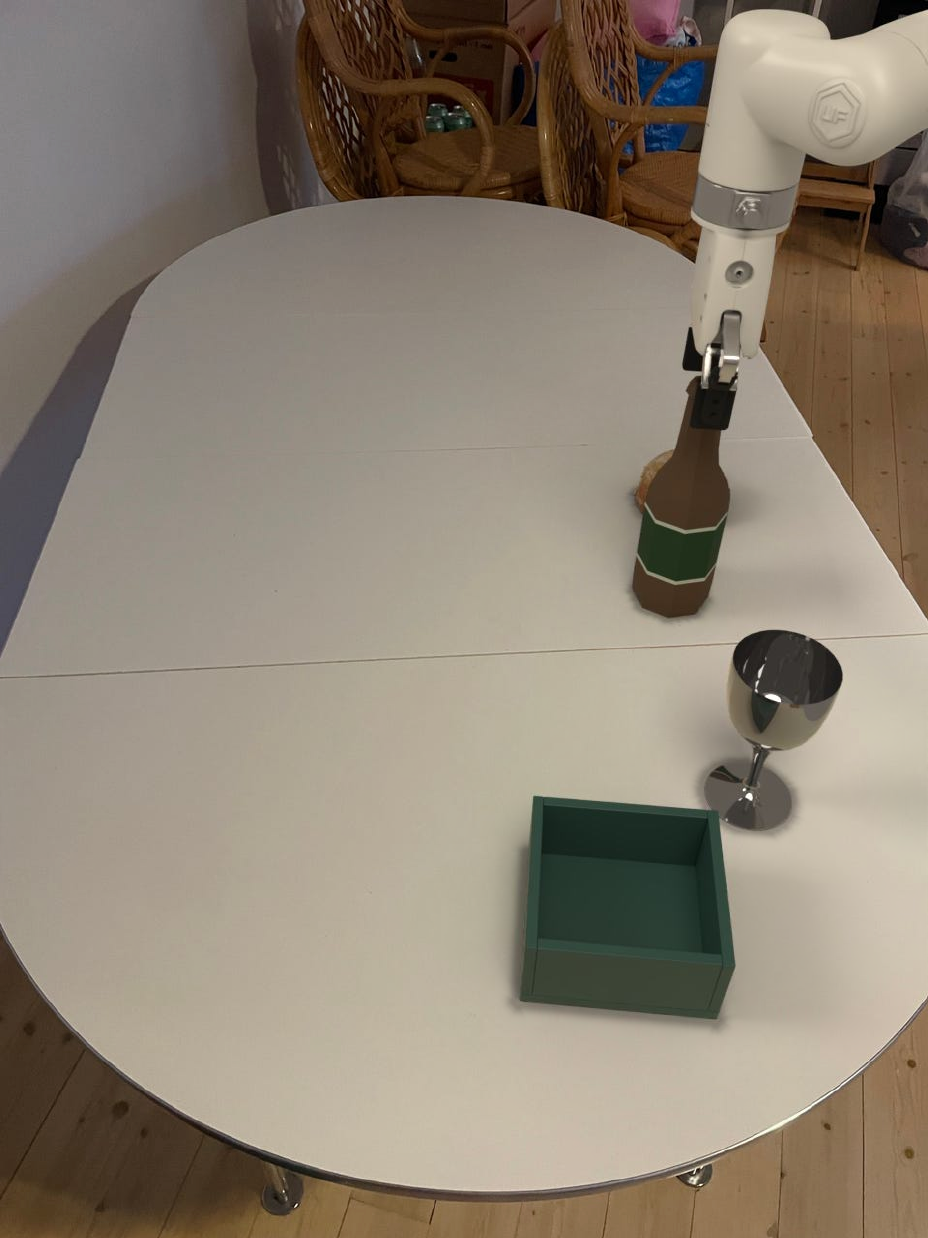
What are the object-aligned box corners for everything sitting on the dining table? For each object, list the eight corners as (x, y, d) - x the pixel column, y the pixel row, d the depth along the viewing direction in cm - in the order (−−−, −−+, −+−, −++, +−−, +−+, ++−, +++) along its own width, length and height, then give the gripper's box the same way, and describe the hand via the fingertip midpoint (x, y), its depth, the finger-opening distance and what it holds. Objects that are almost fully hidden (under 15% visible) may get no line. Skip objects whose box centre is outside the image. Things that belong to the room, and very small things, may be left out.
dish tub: (702, 866, 81) (718, 810, 76) (716, 1019, 72) (735, 966, 67) (528, 851, 82) (533, 795, 77) (519, 1001, 73) (524, 947, 68)
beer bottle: (708, 575, 108) (754, 364, 92) (708, 624, 102) (757, 409, 86) (633, 566, 109) (665, 356, 93) (628, 614, 103) (662, 399, 87)
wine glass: (718, 840, 83) (755, 710, 73) (686, 764, 89) (717, 634, 79) (812, 828, 84) (862, 699, 74) (775, 753, 90) (816, 624, 80)
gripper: (810, 247, 73) (758, 455, 84) (778, 162, 85) (737, 353, 97) (702, 241, 73) (665, 449, 85) (686, 157, 86) (655, 347, 97)
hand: (703, 397), depth 91 cm, fingers open, 9 cm apart
